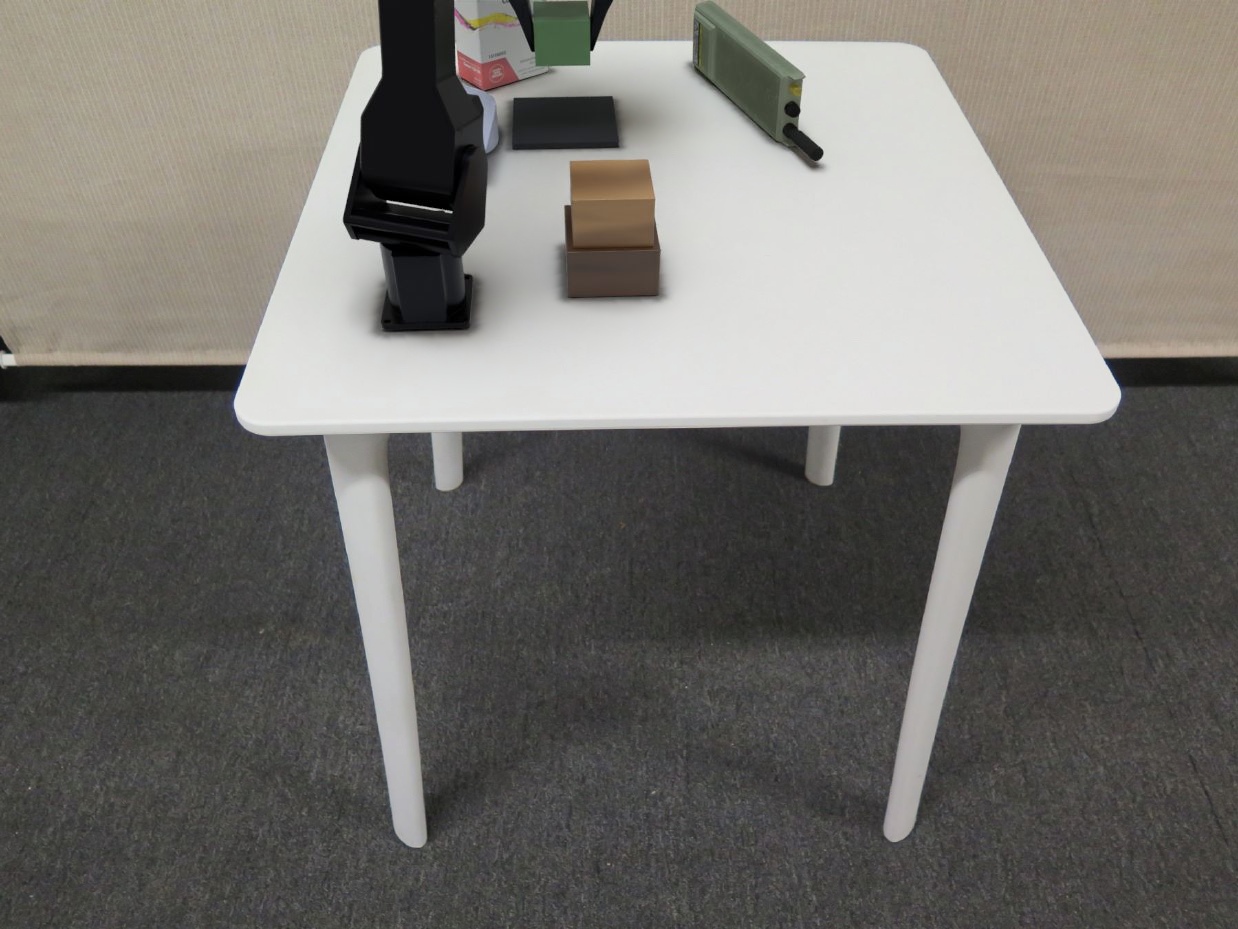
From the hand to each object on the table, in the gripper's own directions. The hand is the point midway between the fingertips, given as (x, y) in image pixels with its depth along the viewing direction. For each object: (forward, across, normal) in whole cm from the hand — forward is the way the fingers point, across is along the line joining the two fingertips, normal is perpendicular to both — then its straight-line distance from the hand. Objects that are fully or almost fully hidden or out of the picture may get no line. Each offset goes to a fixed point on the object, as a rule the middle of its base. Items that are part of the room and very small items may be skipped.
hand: (562, 49), depth 94 cm
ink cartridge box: (+7, +6, -12) cm, 15 cm away
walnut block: (+7, -3, +26) cm, 27 cm away
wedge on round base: (+8, +11, +5) cm, 14 cm away
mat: (+7, 0, 0) cm, 7 cm away
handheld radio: (+7, -19, -2) cm, 20 cm away
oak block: (+3, -3, +26) cm, 26 cm away
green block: (0, 0, 0) cm, 0 cm away
